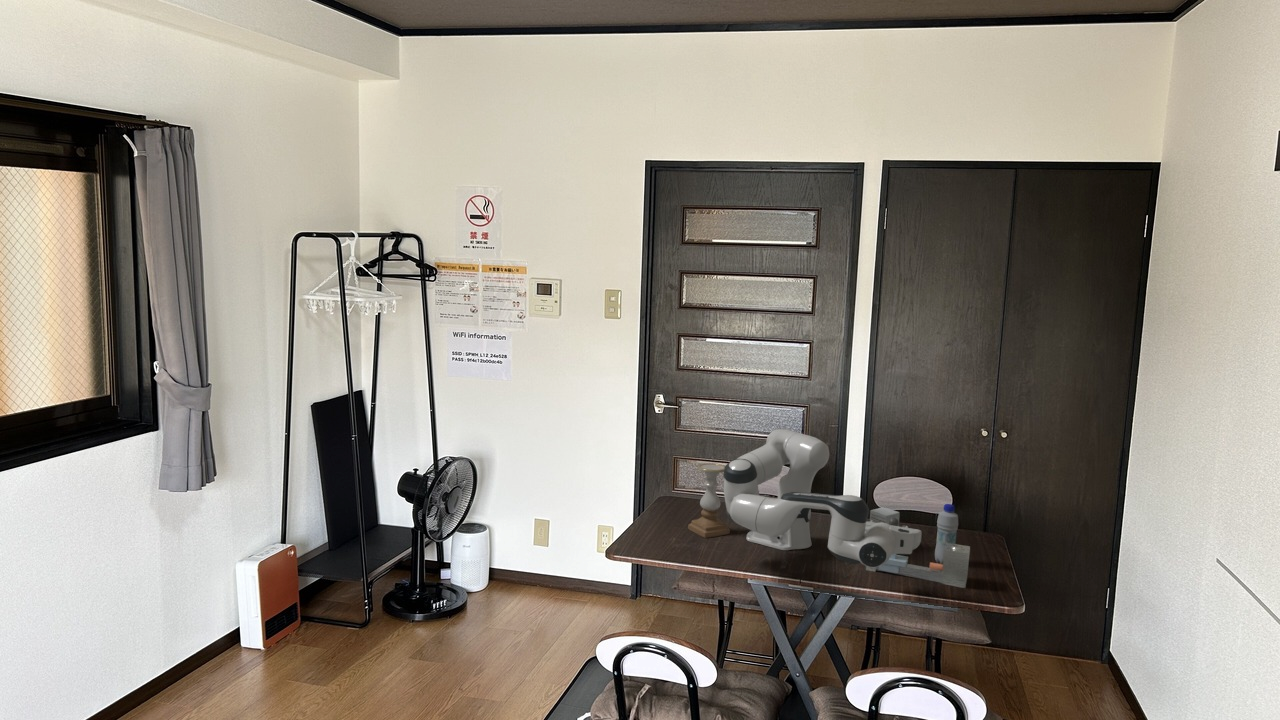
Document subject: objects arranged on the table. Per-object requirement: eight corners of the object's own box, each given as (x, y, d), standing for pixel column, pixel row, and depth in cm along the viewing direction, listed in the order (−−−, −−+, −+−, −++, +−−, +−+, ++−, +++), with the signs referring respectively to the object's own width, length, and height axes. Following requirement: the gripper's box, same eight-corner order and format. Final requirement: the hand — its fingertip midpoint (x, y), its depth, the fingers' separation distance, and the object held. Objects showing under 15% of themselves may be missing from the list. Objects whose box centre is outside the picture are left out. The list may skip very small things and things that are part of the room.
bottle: (937, 557, 288) (942, 500, 285) (957, 562, 283) (963, 504, 281) (930, 562, 282) (935, 504, 280) (950, 567, 278) (955, 508, 276)
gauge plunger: (929, 569, 267) (929, 563, 266) (929, 567, 268) (930, 561, 268) (952, 573, 264) (953, 567, 263) (953, 571, 266) (953, 565, 265)
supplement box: (880, 541, 302) (883, 506, 300) (897, 547, 296) (900, 512, 295) (866, 544, 298) (869, 509, 296) (884, 551, 292) (887, 515, 290)
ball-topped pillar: (878, 570, 271) (882, 518, 269) (881, 564, 277) (885, 513, 275) (904, 574, 268) (909, 522, 266) (907, 568, 273) (911, 517, 271)
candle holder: (704, 538, 297) (708, 471, 294) (687, 528, 306) (690, 464, 303) (730, 534, 303) (733, 468, 300) (712, 525, 312) (715, 461, 309)
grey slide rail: (865, 570, 273) (868, 535, 272) (870, 562, 280) (872, 528, 279) (965, 588, 261) (968, 553, 259) (966, 580, 268) (970, 545, 266)
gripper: (845, 542, 251) (854, 529, 264) (916, 555, 243) (922, 541, 255) (846, 522, 251) (855, 510, 263) (918, 534, 242) (924, 521, 255)
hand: (889, 525), depth 259 cm, fingers open, 8 cm apart
